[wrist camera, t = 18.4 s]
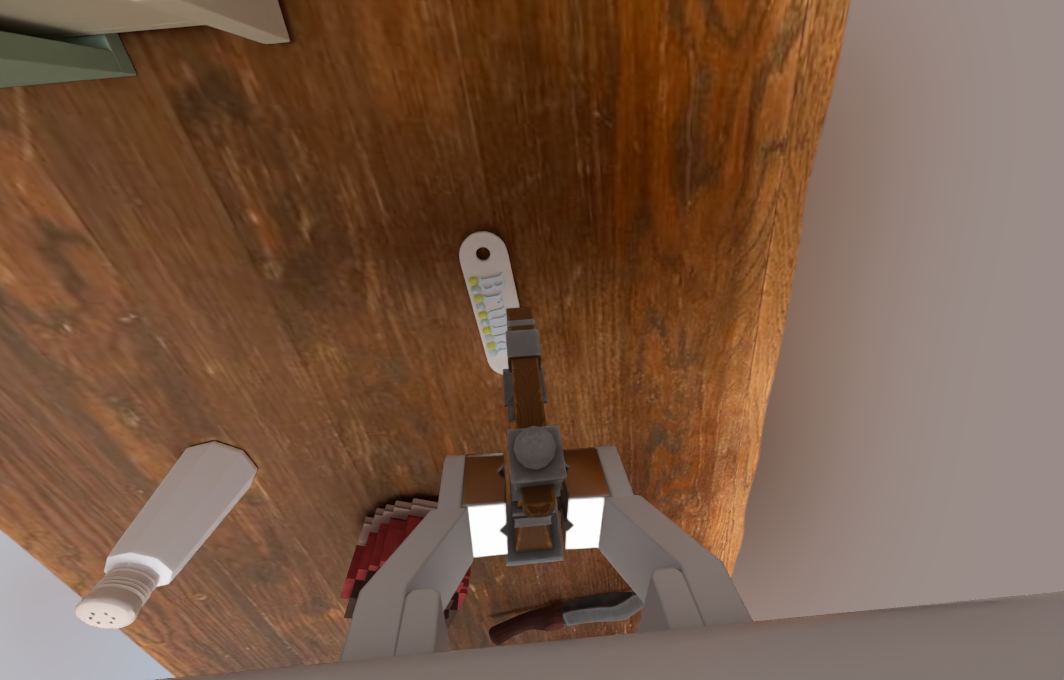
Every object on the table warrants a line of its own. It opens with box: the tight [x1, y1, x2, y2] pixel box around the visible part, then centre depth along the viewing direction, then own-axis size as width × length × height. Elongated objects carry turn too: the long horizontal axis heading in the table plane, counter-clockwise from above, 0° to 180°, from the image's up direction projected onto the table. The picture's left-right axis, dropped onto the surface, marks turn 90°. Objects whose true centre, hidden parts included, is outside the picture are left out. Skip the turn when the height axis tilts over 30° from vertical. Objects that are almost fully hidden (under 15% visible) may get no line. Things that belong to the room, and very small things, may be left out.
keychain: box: [459, 231, 519, 375], centre depth 27 cm, size 10×1×3 cm
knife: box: [489, 592, 644, 645], centre depth 44 cm, size 18×2×3 cm, turn 101°
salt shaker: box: [75, 441, 258, 629], centre depth 27 cm, size 5×5×11 cm
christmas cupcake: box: [341, 498, 471, 629], centre depth 29 cm, size 11×9×18 cm
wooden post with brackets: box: [503, 307, 567, 566], centre depth 11 cm, size 2×8×4 cm, turn 2°
